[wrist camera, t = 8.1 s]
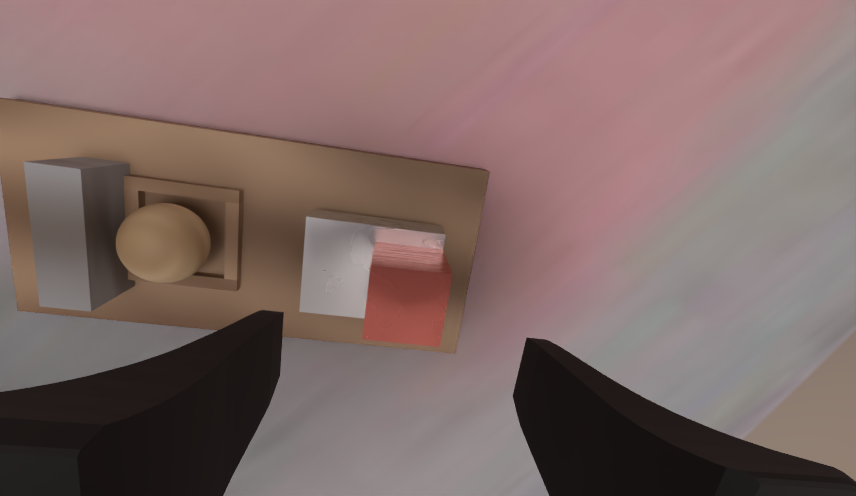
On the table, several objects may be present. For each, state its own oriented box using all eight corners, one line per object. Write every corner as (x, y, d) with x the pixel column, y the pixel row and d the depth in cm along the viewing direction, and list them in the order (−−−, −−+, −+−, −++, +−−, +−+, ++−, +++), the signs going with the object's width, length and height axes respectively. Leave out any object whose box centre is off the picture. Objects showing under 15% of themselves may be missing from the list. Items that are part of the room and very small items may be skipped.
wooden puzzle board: (452, 342, 24) (463, 386, 20) (38, 300, 21) (-46, 340, 17) (484, 169, 21) (505, 178, 17) (15, 99, 19) (-91, 90, 14)
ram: (428, 309, 21) (436, 363, 16) (307, 296, 20) (279, 348, 15) (441, 225, 20) (455, 256, 15) (314, 208, 19) (286, 235, 14)
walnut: (224, 272, 20) (184, 300, 17) (151, 262, 20) (96, 289, 17) (225, 203, 19) (184, 217, 16) (149, 192, 19) (90, 204, 16)
